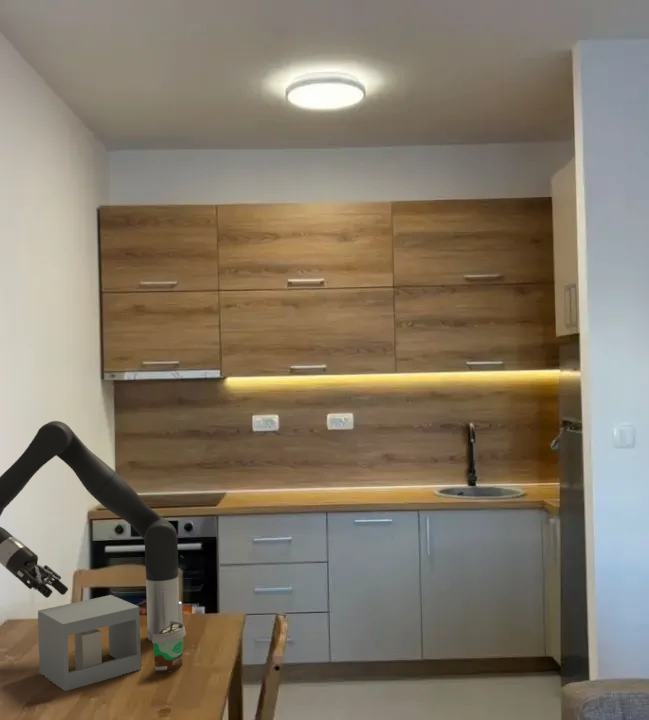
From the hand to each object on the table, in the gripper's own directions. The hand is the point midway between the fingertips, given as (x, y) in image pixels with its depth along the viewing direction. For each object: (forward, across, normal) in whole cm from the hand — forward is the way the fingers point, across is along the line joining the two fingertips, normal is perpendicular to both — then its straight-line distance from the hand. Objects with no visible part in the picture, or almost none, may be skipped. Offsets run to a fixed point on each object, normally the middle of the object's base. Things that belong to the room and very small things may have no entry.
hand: (58, 593), depth 210 cm
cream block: (+21, -4, +8) cm, 22 cm away
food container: (+38, 0, -5) cm, 38 cm away
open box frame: (+21, -4, +8) cm, 23 cm away
